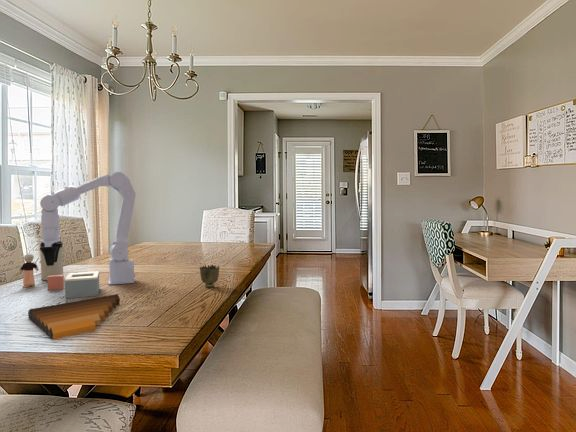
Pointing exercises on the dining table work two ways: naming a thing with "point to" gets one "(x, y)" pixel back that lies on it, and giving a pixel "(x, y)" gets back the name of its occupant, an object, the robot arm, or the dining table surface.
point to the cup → (209, 275)
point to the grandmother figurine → (28, 271)
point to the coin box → (82, 284)
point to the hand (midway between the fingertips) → (52, 263)
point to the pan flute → (73, 316)
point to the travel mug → (56, 268)
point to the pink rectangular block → (55, 282)
